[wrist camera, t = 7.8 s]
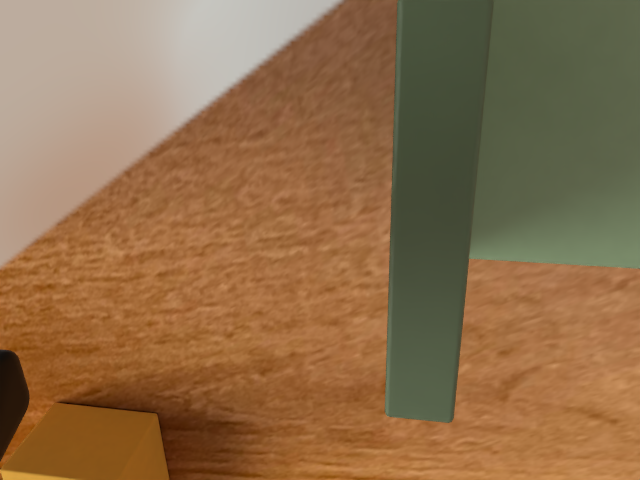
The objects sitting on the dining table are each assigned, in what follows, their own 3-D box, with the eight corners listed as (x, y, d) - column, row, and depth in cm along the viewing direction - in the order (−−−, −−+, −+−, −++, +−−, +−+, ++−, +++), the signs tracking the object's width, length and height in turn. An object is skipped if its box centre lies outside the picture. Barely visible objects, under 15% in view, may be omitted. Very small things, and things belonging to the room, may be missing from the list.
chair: (419, -40, 17) (396, -5, 8) (704, -46, 16) (1083, -12, 7) (409, 192, 20) (384, 418, 11) (646, 203, 19) (846, 465, 10)
